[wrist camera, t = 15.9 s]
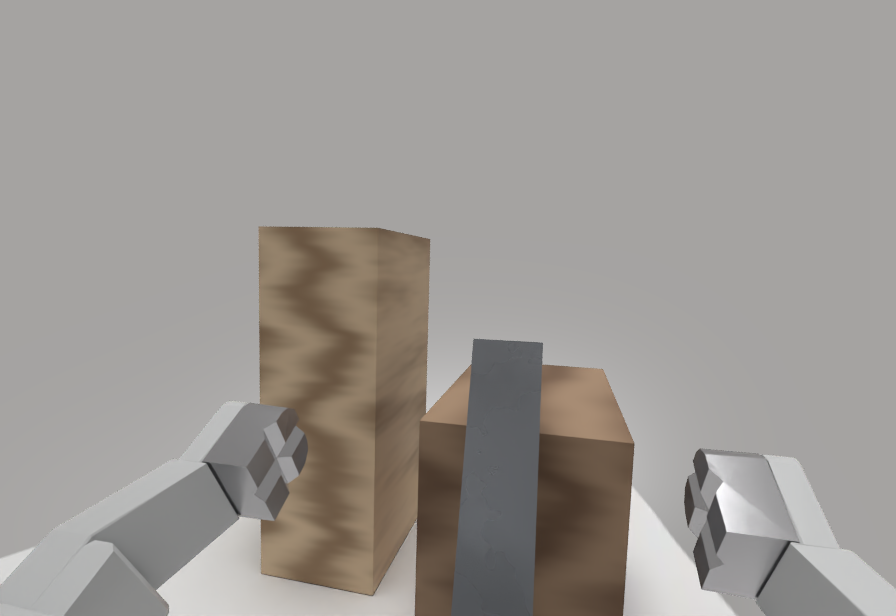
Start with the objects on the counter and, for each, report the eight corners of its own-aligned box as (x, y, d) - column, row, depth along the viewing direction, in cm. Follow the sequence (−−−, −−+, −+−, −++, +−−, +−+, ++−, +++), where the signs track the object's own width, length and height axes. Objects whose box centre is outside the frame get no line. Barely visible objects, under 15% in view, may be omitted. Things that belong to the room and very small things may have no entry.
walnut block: (412, 717, 25) (419, 420, 23) (469, 544, 40) (475, 359, 39) (612, 767, 23) (634, 443, 21) (591, 564, 38) (602, 369, 37)
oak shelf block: (261, 573, 36) (258, 226, 34) (338, 494, 49) (341, 237, 46) (372, 595, 34) (378, 227, 32) (423, 506, 47) (430, 239, 44)
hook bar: (603, 346, 20) (593, 360, 23) (418, 335, 21) (430, 350, 24) (604, 1053, 14) (591, 952, 17) (343, 973, 15) (371, 893, 18)
